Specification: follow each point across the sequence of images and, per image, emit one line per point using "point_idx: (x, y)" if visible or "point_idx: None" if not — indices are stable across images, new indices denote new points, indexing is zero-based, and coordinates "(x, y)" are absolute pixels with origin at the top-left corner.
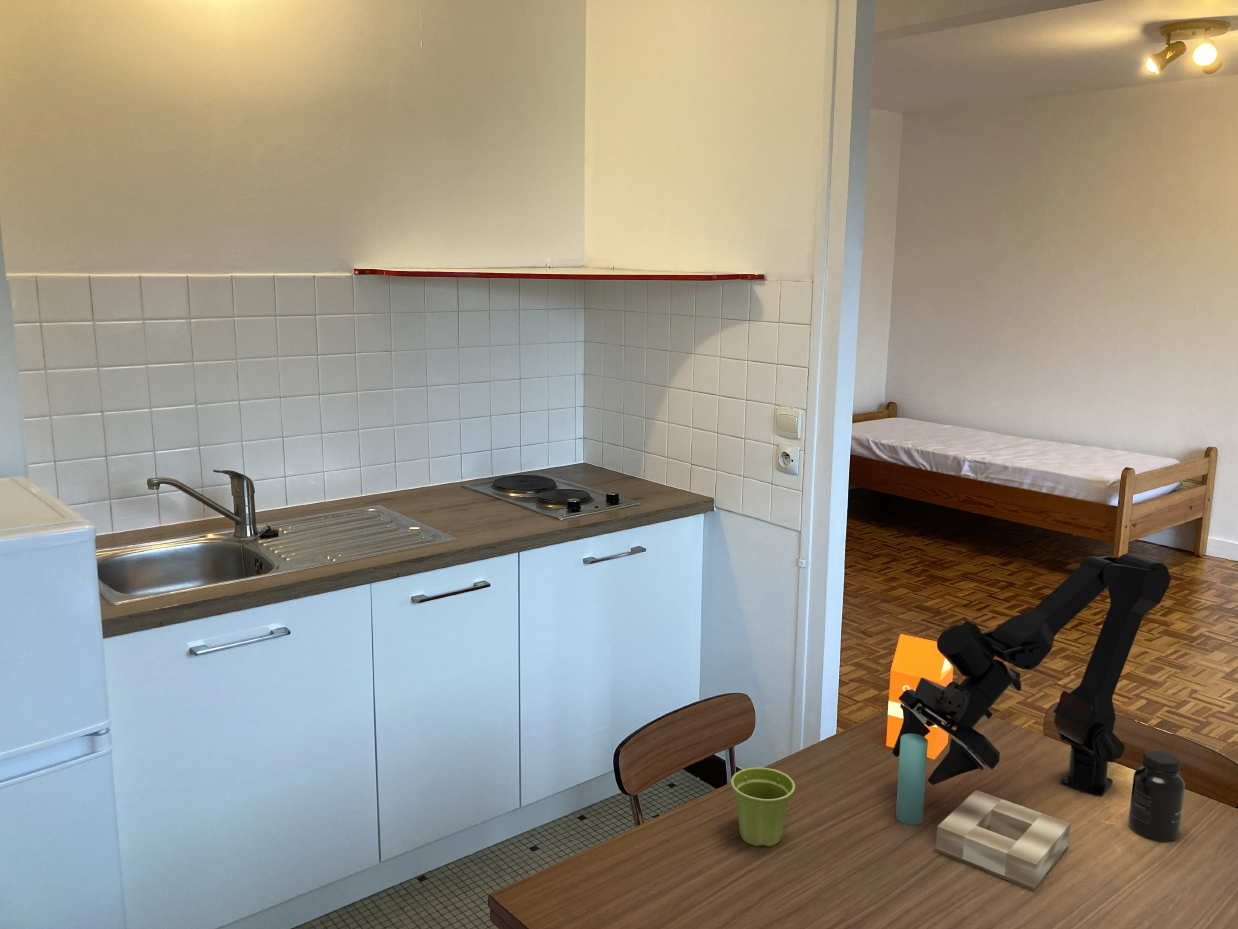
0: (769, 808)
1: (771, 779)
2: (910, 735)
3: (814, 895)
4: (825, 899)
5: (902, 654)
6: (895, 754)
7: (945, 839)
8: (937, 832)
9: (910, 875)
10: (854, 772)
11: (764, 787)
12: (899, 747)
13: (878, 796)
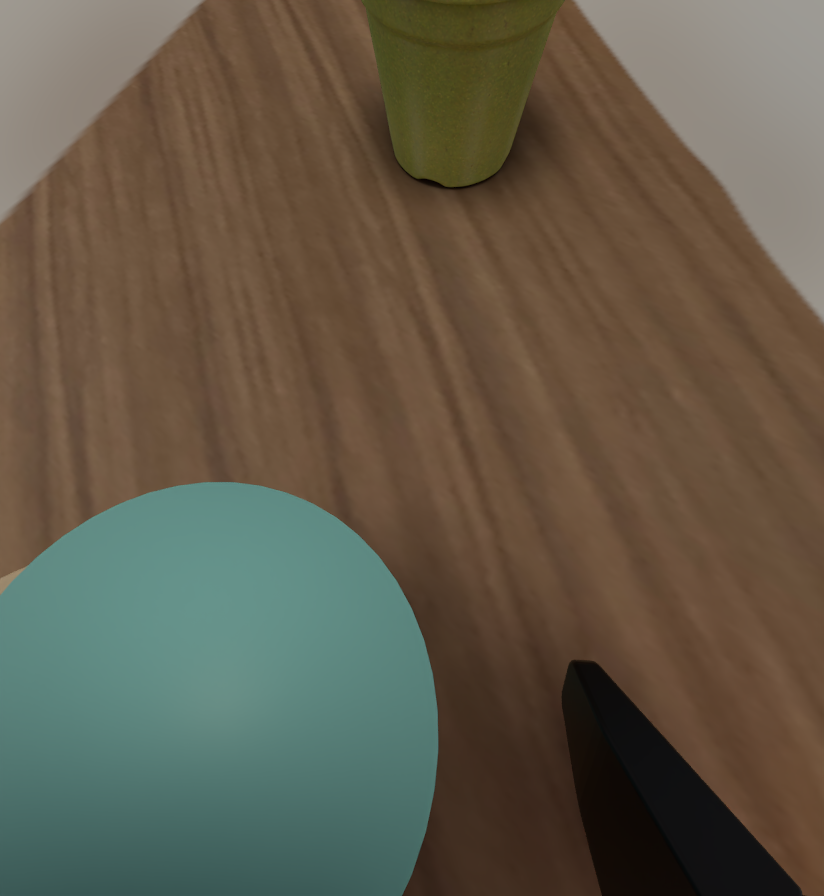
0: None
1: (543, 13)
2: (354, 785)
3: (165, 145)
4: (138, 157)
5: None
6: (567, 682)
7: None
8: None
9: (75, 399)
10: (810, 662)
11: (540, 40)
12: (598, 747)
13: (567, 629)
